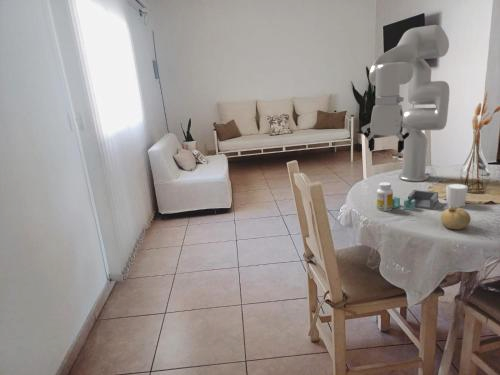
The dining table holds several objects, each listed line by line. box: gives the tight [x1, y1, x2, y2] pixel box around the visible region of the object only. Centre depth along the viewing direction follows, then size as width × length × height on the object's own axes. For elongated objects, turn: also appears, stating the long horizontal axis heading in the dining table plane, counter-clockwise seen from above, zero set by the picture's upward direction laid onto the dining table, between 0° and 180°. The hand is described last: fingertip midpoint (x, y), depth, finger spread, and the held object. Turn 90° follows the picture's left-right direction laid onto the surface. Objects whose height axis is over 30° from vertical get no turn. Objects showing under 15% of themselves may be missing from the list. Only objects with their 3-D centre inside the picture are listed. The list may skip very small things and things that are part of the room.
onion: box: [440, 206, 471, 230], centre depth 110 cm, size 8×8×7 cm
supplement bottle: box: [376, 181, 394, 212], centre depth 129 cm, size 5×5×10 cm
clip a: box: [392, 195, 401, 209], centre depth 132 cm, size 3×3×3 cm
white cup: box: [445, 183, 469, 208], centre depth 127 cm, size 7×7×7 cm
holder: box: [407, 189, 439, 211], centre depth 131 cm, size 9×9×4 cm
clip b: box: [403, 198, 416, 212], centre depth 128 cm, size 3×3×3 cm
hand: (385, 151), depth 125 cm, fingers open, 9 cm apart
